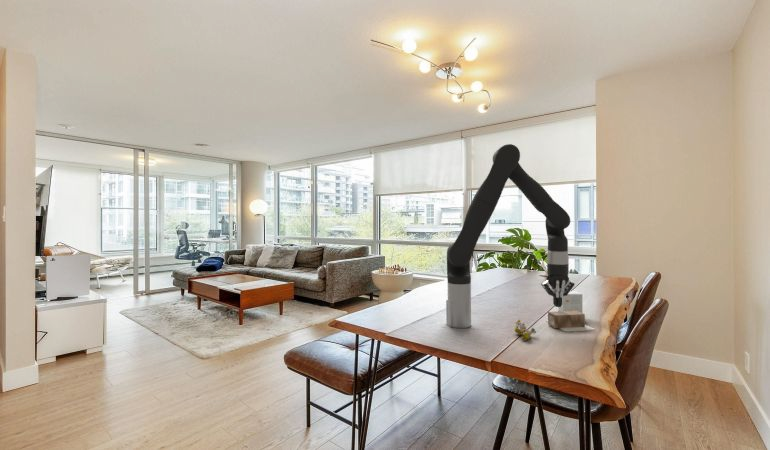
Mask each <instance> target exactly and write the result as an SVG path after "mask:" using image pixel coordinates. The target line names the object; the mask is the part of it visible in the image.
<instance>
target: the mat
mask: <svg viewBox="0 0 770 450" xmlns="http://www.w3.org/2000/svg"><path fill="white" fill-rule="evenodd" d="M545 322H547V323H548V319H547V320H545ZM559 329H560V330H561V331H564V332H581V331H595V330H596V328H593V327H591V326H589V325H587V324H585V327H574V328H559Z"/></svg>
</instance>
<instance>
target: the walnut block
mask: <svg viewBox="0 0 770 450" xmlns="http://www.w3.org/2000/svg"><path fill="white" fill-rule="evenodd" d="M585 319H586V316H585V313H581V312H578V311H548V312H547V320H548V322H547V325H549V326H550V327H552V328H554V329H560V328H574V327H585V325H586V324H585V323H586V322H585Z"/></svg>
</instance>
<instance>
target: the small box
mask: <svg viewBox="0 0 770 450" xmlns="http://www.w3.org/2000/svg"><path fill="white" fill-rule="evenodd" d="M557 310H558V311H578V312H581V313H583V293H581V292H579V291H575V290H574V291H573V290H570V292H569V293H568V295H567V296H563V297H562V305H561V307H557ZM558 311H557V312H558ZM583 314H584V313H583Z"/></svg>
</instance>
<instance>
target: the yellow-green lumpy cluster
mask: <svg viewBox="0 0 770 450" xmlns="http://www.w3.org/2000/svg"><path fill="white" fill-rule="evenodd" d="M515 325H516V327H515V328H514V329H513V330H514V332H515V333H517V335H520V336H521V337H520V339H521V340H523V341H527V340H529V339H531V338H532V336H531V335H532V334H534V335H535V334H536V333H537V331H536V328H534V327H532V328H531V329H529V330H528V328H527V326H526V324H525V323H524V322H523V323H522V322H521V320H520V319H518V320H517V321H516V323H515Z"/></svg>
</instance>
